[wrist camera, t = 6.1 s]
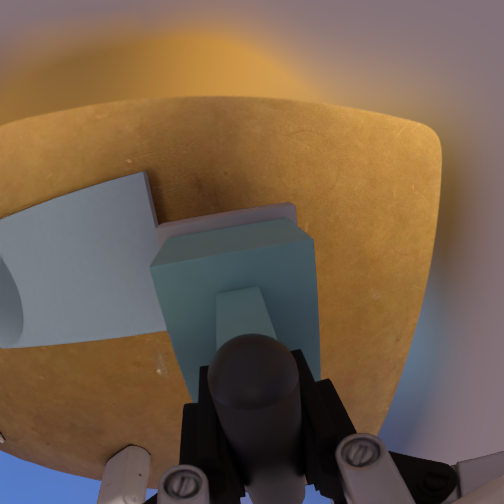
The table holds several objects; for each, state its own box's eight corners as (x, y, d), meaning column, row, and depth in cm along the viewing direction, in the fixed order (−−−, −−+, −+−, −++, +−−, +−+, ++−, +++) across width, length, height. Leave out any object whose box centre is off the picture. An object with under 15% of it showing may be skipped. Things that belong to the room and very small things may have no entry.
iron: (159, 223, 13) (70, 331, 4) (290, 201, 14) (409, 272, 5) (211, 408, 17) (216, 541, 8) (306, 391, 17) (355, 515, 8)
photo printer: (131, 440, 34) (117, 508, 22) (155, 453, 35) (147, 520, 24) (103, 460, 36) (89, 518, 24) (125, 472, 37) (115, 528, 25)
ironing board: (-38, 238, 23) (-62, 249, 19) (156, 169, 25) (143, 171, 20) (-5, 330, 27) (-24, 349, 23) (188, 302, 29) (183, 327, 24)
